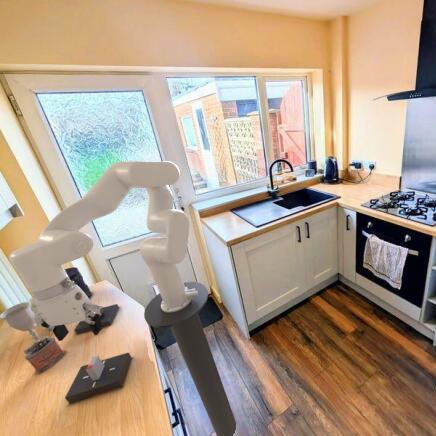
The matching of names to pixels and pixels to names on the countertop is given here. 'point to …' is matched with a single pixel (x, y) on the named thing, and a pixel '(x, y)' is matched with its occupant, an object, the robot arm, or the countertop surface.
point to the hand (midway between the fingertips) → (81, 334)
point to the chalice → (21, 318)
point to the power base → (105, 319)
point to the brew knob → (95, 368)
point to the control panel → (100, 379)
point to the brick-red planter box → (43, 353)
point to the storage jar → (78, 280)
